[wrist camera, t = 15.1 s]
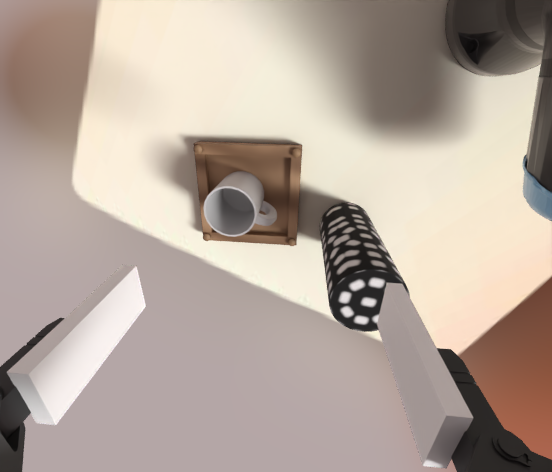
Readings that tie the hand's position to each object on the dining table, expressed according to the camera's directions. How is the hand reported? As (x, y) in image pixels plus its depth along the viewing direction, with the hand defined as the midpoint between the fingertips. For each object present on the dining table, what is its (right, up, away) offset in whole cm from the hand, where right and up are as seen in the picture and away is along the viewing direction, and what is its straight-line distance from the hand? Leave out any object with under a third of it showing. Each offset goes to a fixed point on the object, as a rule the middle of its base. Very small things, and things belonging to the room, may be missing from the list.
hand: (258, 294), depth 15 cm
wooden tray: (-3, +10, +32) cm, 34 cm away
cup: (-3, +10, +31) cm, 33 cm away
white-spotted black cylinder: (+13, +5, +33) cm, 36 cm away
